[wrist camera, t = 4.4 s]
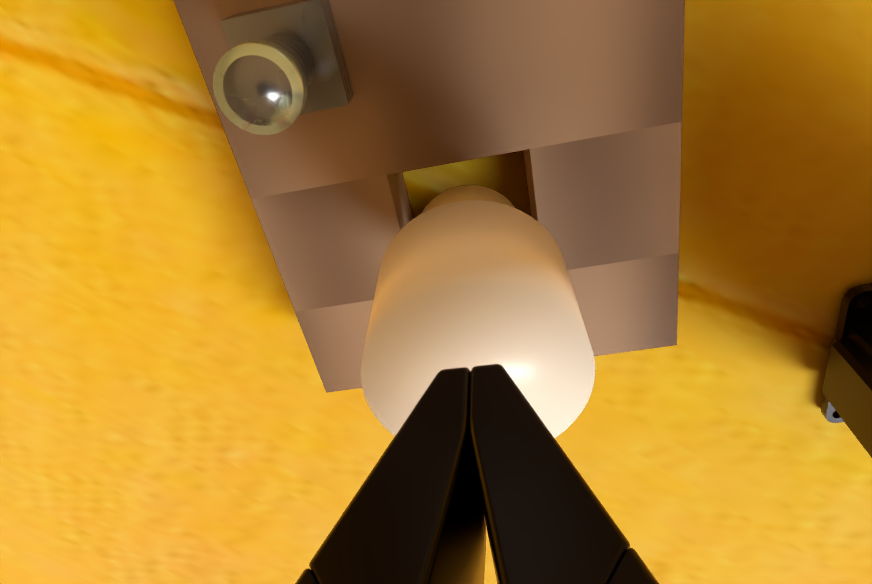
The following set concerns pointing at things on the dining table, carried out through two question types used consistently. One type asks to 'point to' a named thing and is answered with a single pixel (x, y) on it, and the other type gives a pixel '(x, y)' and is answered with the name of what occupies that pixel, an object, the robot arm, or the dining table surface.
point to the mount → (476, 151)
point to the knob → (476, 309)
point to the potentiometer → (281, 66)
